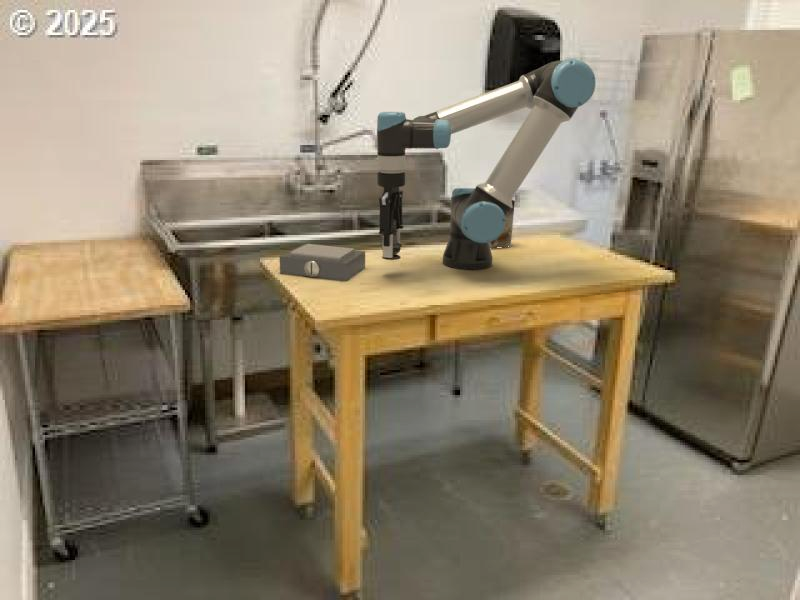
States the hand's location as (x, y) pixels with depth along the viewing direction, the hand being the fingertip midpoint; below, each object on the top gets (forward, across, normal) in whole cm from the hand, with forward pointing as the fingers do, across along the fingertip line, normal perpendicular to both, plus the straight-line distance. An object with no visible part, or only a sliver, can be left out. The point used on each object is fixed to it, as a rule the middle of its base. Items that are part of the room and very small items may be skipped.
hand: (391, 254), depth 188 cm
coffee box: (+7, -48, +21) cm, 53 cm away
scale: (+6, +3, -20) cm, 21 cm away
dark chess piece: (+1, 0, 0) cm, 1 cm away
